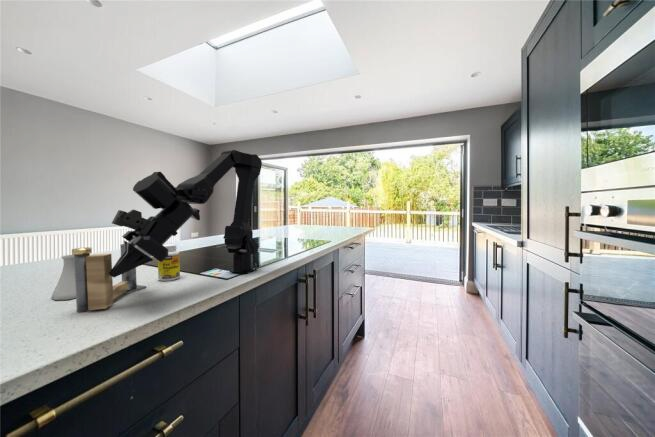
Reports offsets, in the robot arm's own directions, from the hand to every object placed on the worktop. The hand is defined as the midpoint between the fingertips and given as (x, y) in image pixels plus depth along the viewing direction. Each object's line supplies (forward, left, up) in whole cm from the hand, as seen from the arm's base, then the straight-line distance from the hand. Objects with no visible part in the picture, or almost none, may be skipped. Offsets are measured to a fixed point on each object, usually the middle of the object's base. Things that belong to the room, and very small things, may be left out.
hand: (111, 275), depth 55 cm
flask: (-3, -18, -7) cm, 19 cm away
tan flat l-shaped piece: (-3, -4, -6) cm, 8 cm away
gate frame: (-4, -7, -7) cm, 11 cm away
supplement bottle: (-21, -8, -7) cm, 23 cm away
